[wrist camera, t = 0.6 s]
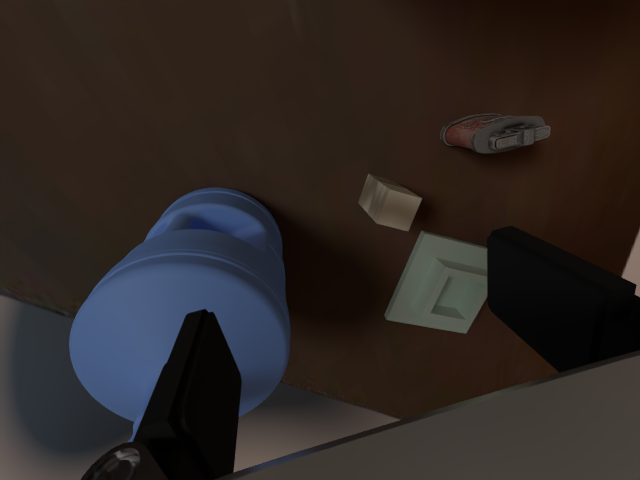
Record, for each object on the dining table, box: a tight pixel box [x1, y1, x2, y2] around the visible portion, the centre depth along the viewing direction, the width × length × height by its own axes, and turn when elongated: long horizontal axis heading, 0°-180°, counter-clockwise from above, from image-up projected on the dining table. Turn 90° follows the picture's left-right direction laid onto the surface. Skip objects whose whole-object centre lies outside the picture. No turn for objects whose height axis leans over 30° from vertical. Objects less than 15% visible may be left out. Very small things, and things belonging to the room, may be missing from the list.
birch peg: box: [358, 174, 422, 231], centre depth 39 cm, size 4×4×8 cm
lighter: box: [440, 114, 550, 153], centre depth 37 cm, size 8×3×10 cm, turn 101°
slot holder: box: [384, 230, 487, 333], centre depth 48 cm, size 15×15×4 cm
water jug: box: [69, 188, 290, 442], centre depth 30 cm, size 16×16×28 cm
